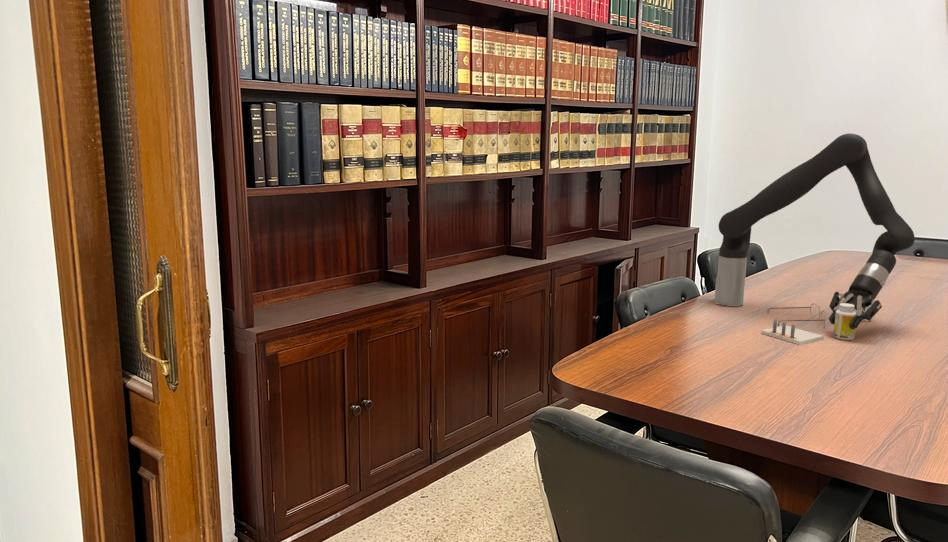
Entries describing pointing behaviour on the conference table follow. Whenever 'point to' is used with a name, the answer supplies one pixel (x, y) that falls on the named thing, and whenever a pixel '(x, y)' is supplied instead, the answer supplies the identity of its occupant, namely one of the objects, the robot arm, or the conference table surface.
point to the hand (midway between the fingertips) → (841, 325)
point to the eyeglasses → (802, 320)
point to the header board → (791, 334)
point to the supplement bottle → (844, 322)
